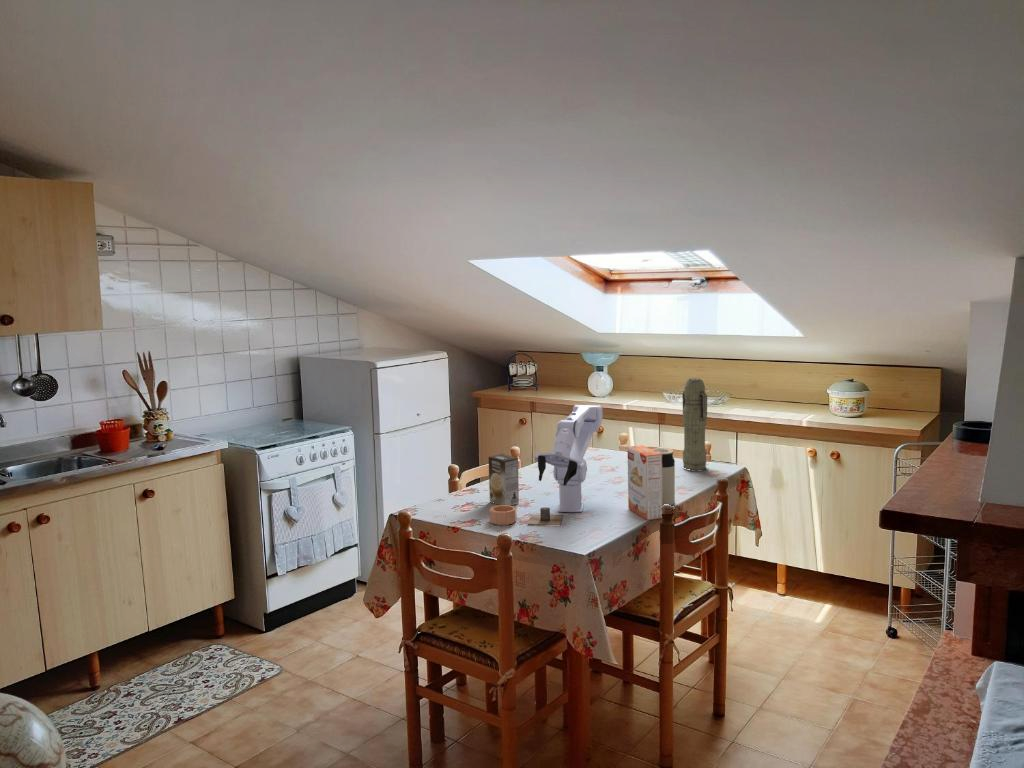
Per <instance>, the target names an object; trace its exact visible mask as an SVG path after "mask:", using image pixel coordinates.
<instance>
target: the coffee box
mask: <svg viewBox="0 0 1024 768" xmlns="http://www.w3.org/2000/svg"><path fill="white" fill-rule="evenodd" d="M488 478H489V479H488V483H489V484H488V485H489V486H488V487H489V489H488V490H489V502H490V501H491V502H490V503H492V502H494V503H496V505H497V504H499V505H513V506H515V505H514V504H516V505H519V504H520V494H519V493H520V491H519V490H520V488H519V486H520V485H519V458H518V457H514V456H511V455H508V454H505V453H500V454H495V455H491V456H488ZM494 503H493V504H494ZM518 503H519V504H518Z"/></svg>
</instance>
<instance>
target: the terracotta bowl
mask: <svg viewBox="0 0 1024 768" xmlns="http://www.w3.org/2000/svg"><path fill="white" fill-rule="evenodd" d="M517 518H518V517H517V506H515V505H513V506H511V505H495V506H491V507H490V509H489V522H492V523H494V524H498V525H506V526H510V525H509V524H512V523H514V522H515V521H517ZM492 523H491V524H492ZM515 523H516V522H515ZM515 523H514V524H515ZM494 524H493V525H494ZM498 525H497V526H498ZM512 525H513V524H512Z"/></svg>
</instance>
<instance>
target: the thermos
mask: <svg viewBox="0 0 1024 768" xmlns="http://www.w3.org/2000/svg"><path fill="white" fill-rule="evenodd" d="M707 417H708V395H707V393H706V386H705V382H704V380H703V379H701V378H688V379H687V380H686V382H685V384H684V390H683V392H682V424H683V427H684V428H683V430H684V433H683V435H684V436H683V437H684V438H683V439H684V442H683V444H684V445H683V450H682V462H683V464H682V465H683V466H682V468H683V467H684V468H686V469H690V470H703V469H705V470H706V469H707V450H706V425H707V419H708V418H707ZM703 471H704V470H703Z"/></svg>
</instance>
